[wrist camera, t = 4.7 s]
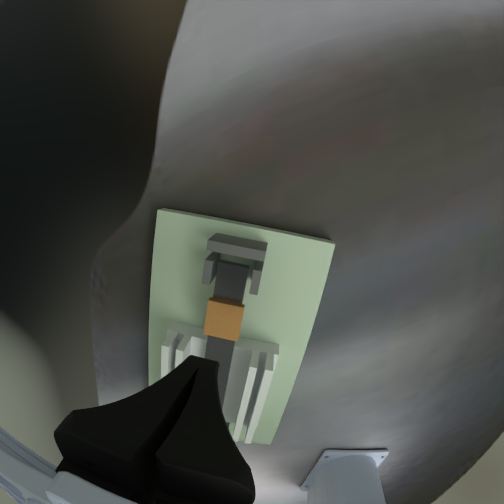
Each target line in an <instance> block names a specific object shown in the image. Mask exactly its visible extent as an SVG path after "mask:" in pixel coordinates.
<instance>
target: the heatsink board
mask: <svg viewBox="0 0 504 504" xmlns="http://www.w3.org/2000/svg"><path fill="white" fill-rule="evenodd" d="M334 247H335V243H334V242H333V241H332V240H327V239H322V238H318V237H313V236H308V235H303V234H298V233H294V232H289V231H284V230H279V229H274V228H269V227H264V226H259V225H254V224H249V223H243V222H238V221H233V220H228V219H222V218H217V217H212V216H206V215H201V214H195V213H190V212H184V211H179V210H173V209H167V208H162V209H158V211H157V219H156V228H155V238H154V248H153V259H152V272H151V287H150V307H149V386H151V385H152V384H154V383H155V382H157V381H158V380H160V379H161V378H163V377H164V376H165V375H167V374H168V373H169V372H171V371H172V370H173V369H175V368H176V367H177V366H178V365H179V364H181V363H182V362H183V361H184V360H185V359H186V358H187V357H188V356H190V355H194V356H198V357H202V358H205V352H206V344H207V337H208V335H206V334H204V326H205V318H206V311H207V303H208V299H209V298H210V297H212V298H213V294H214V287H215V281H216V274H217V268H218V262H219V261H220V259H221V260H226V261H231V262H236V263H240V264H245V265H250V266H249V272H248V277H247V282H246V288H245V293H244V298H243V303H242V304H245V308H244V313H243V319H242V324H241V329H240V334H239V339H238V342H237V341H235V346H234V351H233V356H232V362H231V367H230V372H229V377H228V383H227V388H226V393H225V399H224V404H223V409H222V411H223V415H224V418H225V421H226V424H227V427H228V429H229V432H230V434H231V436H232V438H233V440H234V441H236V442H238V440H241V441H244V443H247V444H251V442H252V443H259V444H265V445H271V443H272V441H273V438H274V436H275V433H276V431H277V428H278V425H279V423H280V420H281V418H282V415H283V412H284V410H285V407H286V404H287V402H288V399H289V396H290V394H291V391H292V388H293V385H294V382H295V379H296V377H297V374H298V371H299V368H300V365H301V362H302V359H303V356H304V353H305V350H306V347H307V343H308V340H309V337H310V334H311V331H312V327H313V324H314V321H315V317H316V314H317V311H318V307H319V304H320V300H321V297H322V293H323V290H324V286H325V282H326V279H327V275H328V271H329V267H330V263H331V259H332V255H333V251H334Z"/></svg>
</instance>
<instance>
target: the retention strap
mask: <svg viewBox="0 0 504 504" xmlns="http://www.w3.org/2000/svg"><path fill="white" fill-rule="evenodd" d="M249 266H250V265H245V264H240V263H236V262H231V261H226V260H221V259H220V261H219V262H218V268H217V274H216V281H215V287H214V294H213V298H212V297H210V298H209V299H208V303H207V311H206V318H205V326H204V334H206V335H208V337H207V344H206V352H205V358H206V359H210V360H214V361H218V362H219V364H220V365H219V371H218V390H219V398H220V403H221V407H222V409H223V404H224V399H225V393H226V388H227V383H228V377H229V372H230V367H231V362H232V356H233V351H234V346H235V341H237V342H238V339H239V334H240V329H241V324H242V319H243V313H244V308H245V304H242V303H243V298H244V293H245V288H246V282H247V277H248V272H249Z"/></svg>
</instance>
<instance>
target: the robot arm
mask: <svg viewBox="0 0 504 504" xmlns="http://www.w3.org/2000/svg"><path fill="white" fill-rule="evenodd" d="M219 365H220V364H219V362H218V361H214V360H210V359H206V358H202V357H198V356H194V355H190V356H188V357H187V358H186V359H185V360H184V361H183V362H182V363H181V364H179V365H178V366H177V367H176V368H175V369H173V370H172V371H171V372H169V373H168V374H167V375H165V376H164V377H163V378H161V379H160V380H158V381H157V382H155V383H154V384H152V385H151V386H149V387H147V388H145V389H144V390H142V391H140V392H138V393H136V394H134V395H131V396H129V397H127V398H124V399H122V400H119V401H116V402H113V403H110V404H106V405H102V406H98V407H93V408H87V409H80V410H73V411H72V412H71V413H70V414H69V415H68V416H67V417H66V418H65V419H64V420H63V421H62V422H61V424H60V425H59V426H58V427H57V429H56V430H55V431H54V438H55V441H56V444H57V446H58V448H59V450H60V452H61V454H62V456H63V460H62V461H61V463H60V464H59V466H58V467H56V466H55V465H53V464H51V463H50V462H48V461H47V460H45V459H44V458H42V457H41V456H39V455H37V454H36V453H35V452H33V451H32V450H30V449H29V448H27V447H26V446H24V445H23V444H22V443H20V442H19V441H18V440H16V439H15V438H14V437H12V436H11V435H10V434H9V433H7V432H6V431H5V430H4V429H2V428H1V427H0V488H1V489H2V490H4V491H5V492H6V493H7V494H8V495H9V496H11V497H12V498H13V499H14V500H15V501H17V502H18V503H19V504H253V502H254V500H255V485H254V480H253V476H252V473H251V469H250V467H249V465H248V464H247V463H246V461H245V460H244V458H243V456H242V455H241V453H240V452H239V450H238V448H237V446H236V444H235V442H234V440H233V438H232V436H231V434H230V432H229V429H228V427H227V424H226V421H225V418H224V415H223V411H222V407H221V403H220V398H219V390H218V371H219ZM388 454H389V450H325V451H324V452H323V454H322V455H321V457H320V458H319V460H318V462H317V463H316V465H315V466H314V468H313V469H312V471H311V472H310V474H309V475H308V477H307V478H306V480H305V481H304V483H303V484H302V485H301V487H300V490H301V491H307V493H308V504H386V503H385V499H384V494H383V490H382V486H381V482H380V478H379V473H378V469H377V468H378V466H379V465H380V464H381V463H382V462H383V460H384V459H385V458H386V457H387V455H388Z"/></svg>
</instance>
